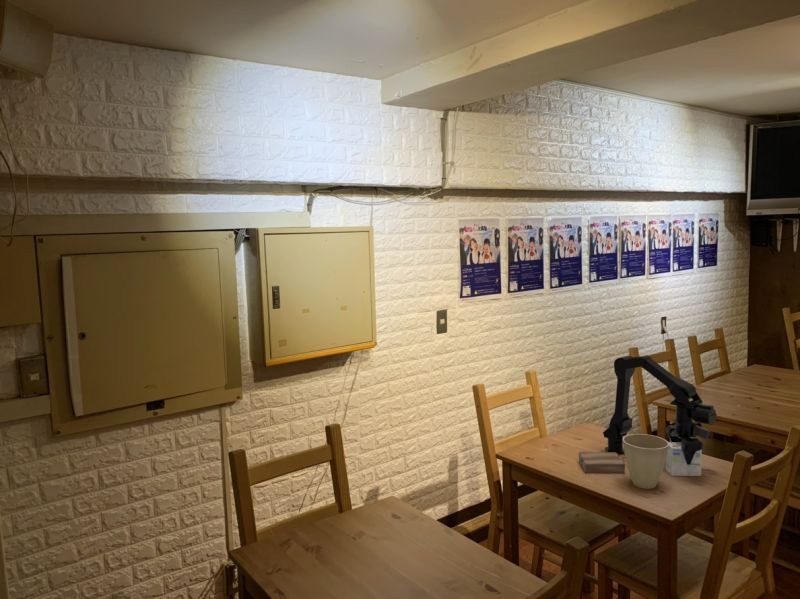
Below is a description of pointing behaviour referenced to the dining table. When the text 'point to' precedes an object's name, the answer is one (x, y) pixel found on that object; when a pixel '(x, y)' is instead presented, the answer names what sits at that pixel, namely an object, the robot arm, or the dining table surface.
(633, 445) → the plant pot
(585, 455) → the walnut block
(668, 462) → the light bulb box
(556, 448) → the dining table surface
